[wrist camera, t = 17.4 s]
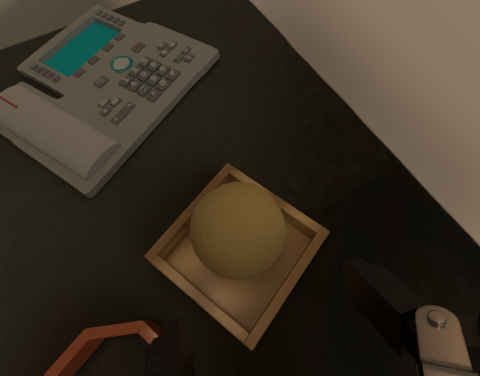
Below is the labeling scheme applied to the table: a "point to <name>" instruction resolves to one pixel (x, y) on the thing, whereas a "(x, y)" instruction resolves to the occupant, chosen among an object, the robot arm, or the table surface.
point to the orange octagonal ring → (91, 338)
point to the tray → (238, 290)
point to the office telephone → (99, 94)
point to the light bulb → (237, 230)
